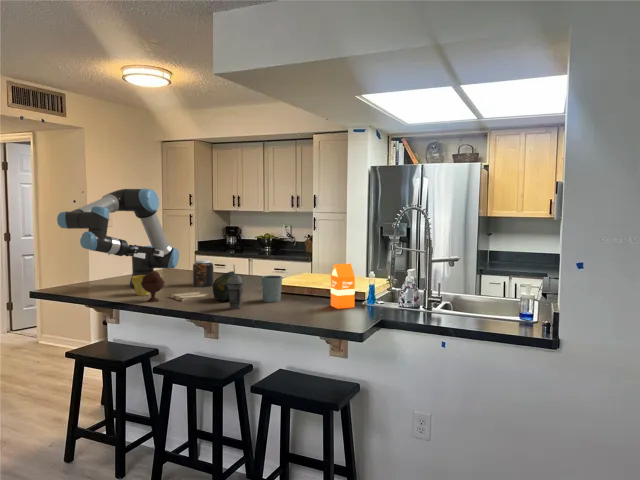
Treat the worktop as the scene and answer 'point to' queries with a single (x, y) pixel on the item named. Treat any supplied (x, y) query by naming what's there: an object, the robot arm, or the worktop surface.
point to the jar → (203, 273)
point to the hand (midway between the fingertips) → (154, 255)
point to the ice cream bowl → (152, 284)
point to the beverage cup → (235, 290)
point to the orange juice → (342, 286)
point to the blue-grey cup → (271, 288)
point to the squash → (222, 287)
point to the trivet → (190, 296)
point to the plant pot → (139, 285)
